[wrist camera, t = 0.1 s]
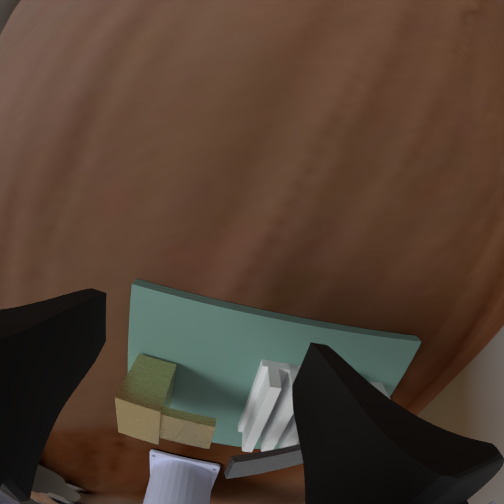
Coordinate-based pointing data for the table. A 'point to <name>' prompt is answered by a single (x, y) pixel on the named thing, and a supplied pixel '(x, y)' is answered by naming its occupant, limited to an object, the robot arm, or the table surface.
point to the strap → (263, 461)
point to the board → (249, 359)
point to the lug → (158, 407)
